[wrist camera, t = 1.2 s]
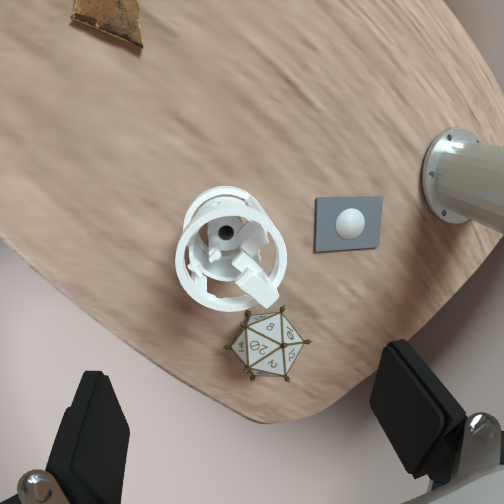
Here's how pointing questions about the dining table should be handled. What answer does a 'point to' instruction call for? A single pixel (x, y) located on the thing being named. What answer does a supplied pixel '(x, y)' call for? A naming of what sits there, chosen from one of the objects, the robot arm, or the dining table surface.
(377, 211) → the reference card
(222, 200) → the white cylindrical housing
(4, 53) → the dining table surface
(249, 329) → the game die
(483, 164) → the robot arm
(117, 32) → the shard
